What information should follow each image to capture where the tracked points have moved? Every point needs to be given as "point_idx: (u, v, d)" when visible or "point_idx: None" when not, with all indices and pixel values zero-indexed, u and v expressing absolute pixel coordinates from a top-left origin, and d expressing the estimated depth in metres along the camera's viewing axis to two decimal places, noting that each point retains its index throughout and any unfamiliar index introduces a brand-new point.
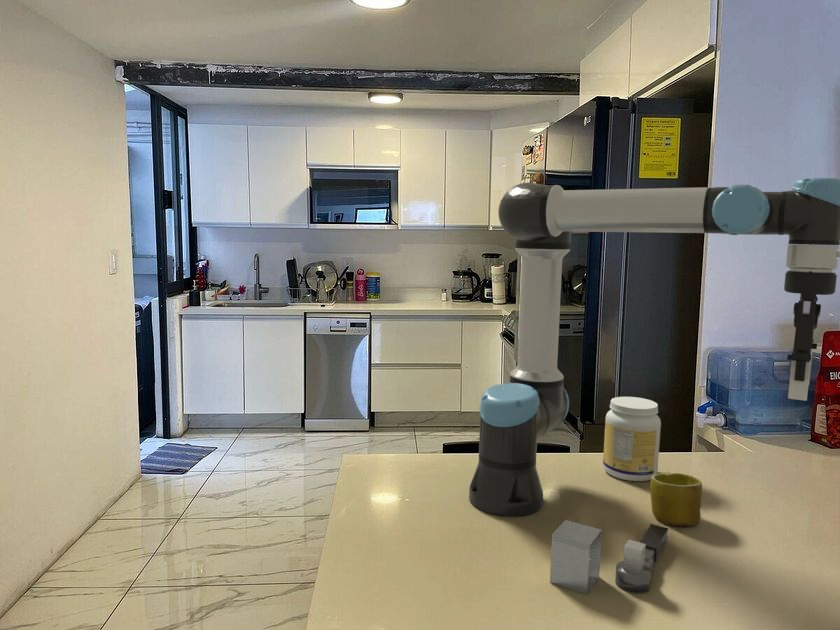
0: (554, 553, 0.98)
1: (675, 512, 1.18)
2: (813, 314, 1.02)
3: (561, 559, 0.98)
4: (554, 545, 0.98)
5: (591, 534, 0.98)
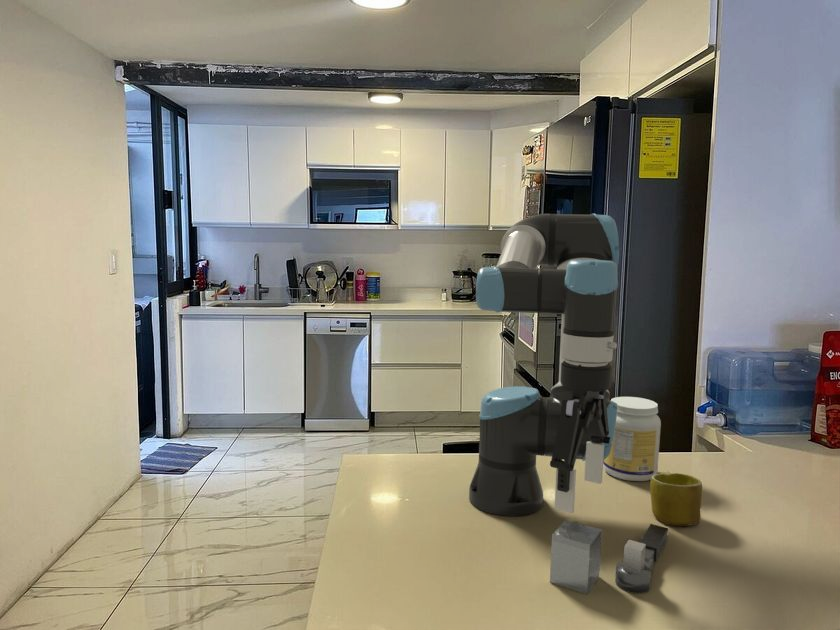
0: (554, 553, 0.98)
1: (675, 512, 1.18)
2: (575, 417, 0.90)
3: (561, 559, 0.98)
4: (554, 545, 0.98)
5: (591, 534, 0.98)
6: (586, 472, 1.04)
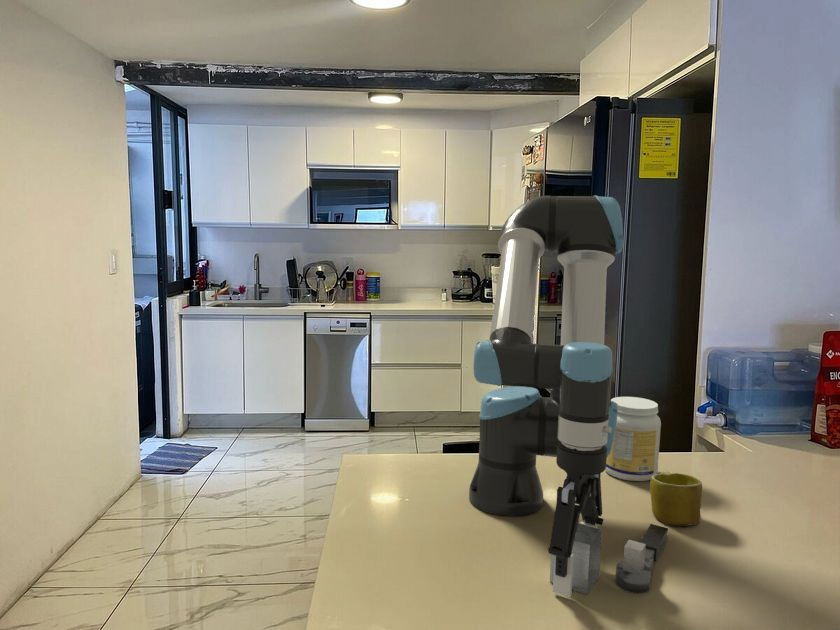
0: None
1: (675, 512, 1.18)
2: (571, 505, 0.92)
3: None
4: None
5: (591, 534, 0.98)
6: None
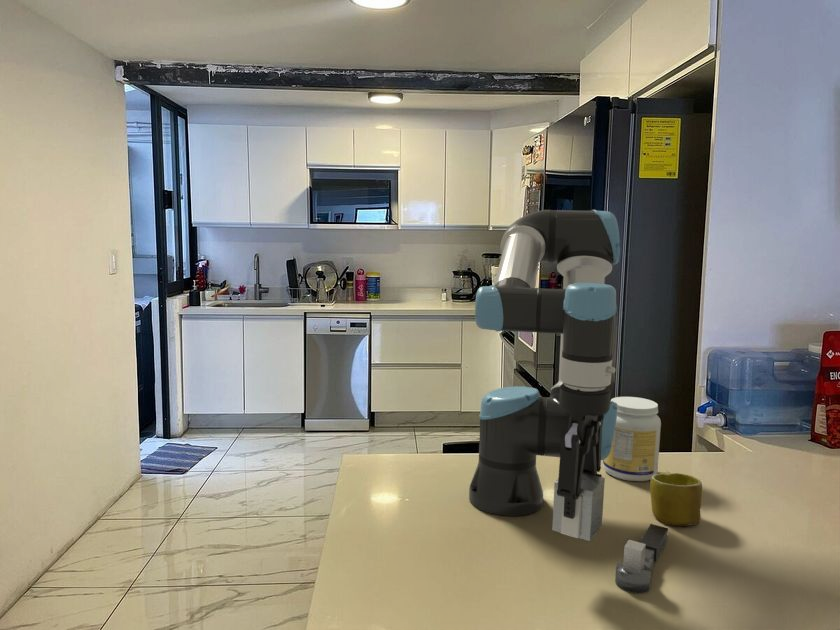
0: (556, 501, 0.98)
1: (675, 512, 1.18)
2: (575, 450, 0.91)
3: None
4: None
5: (593, 482, 0.97)
6: None
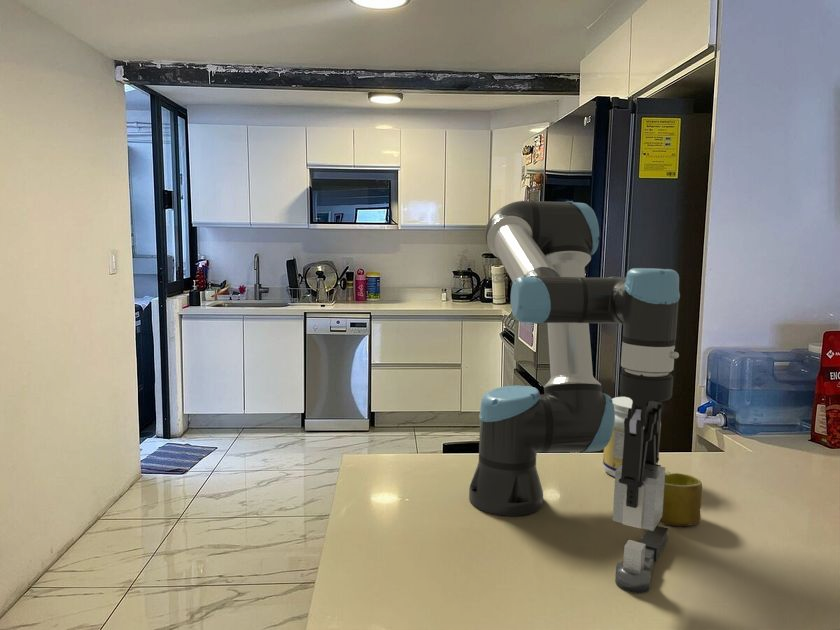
0: (617, 490, 0.96)
1: (675, 512, 1.18)
2: (640, 436, 0.90)
3: None
4: (618, 481, 0.95)
5: (655, 471, 0.96)
6: None
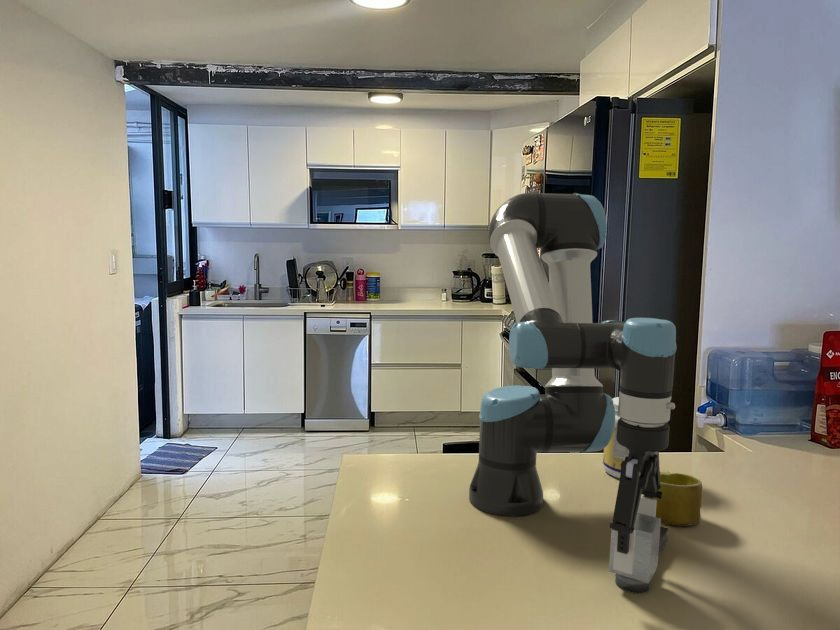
0: (613, 542, 0.97)
1: (675, 512, 1.18)
2: (636, 479, 0.90)
3: None
4: (614, 533, 0.97)
5: (651, 523, 0.97)
6: None
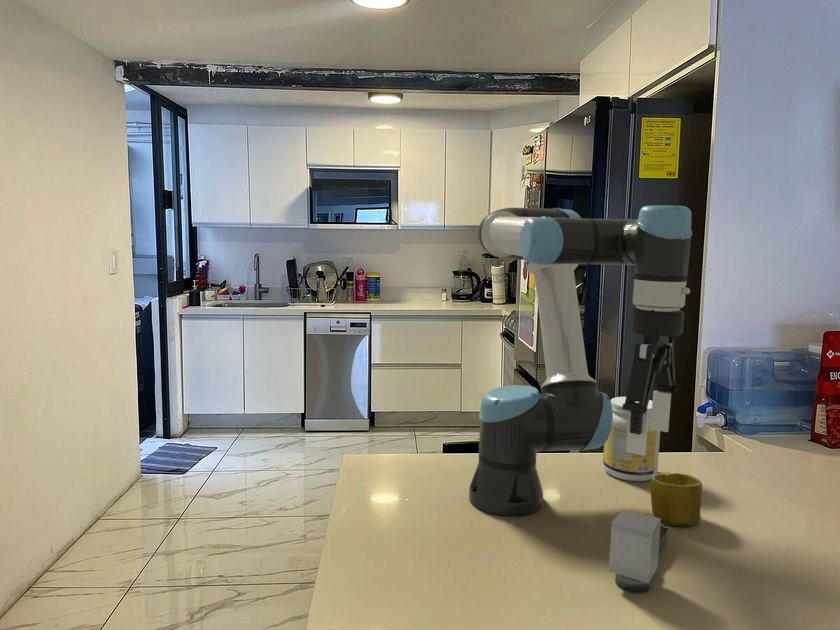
0: (613, 542, 0.97)
1: (675, 512, 1.18)
2: (649, 359, 0.91)
3: (621, 548, 0.96)
4: (614, 533, 0.97)
5: (651, 523, 0.97)
6: (652, 421, 1.05)
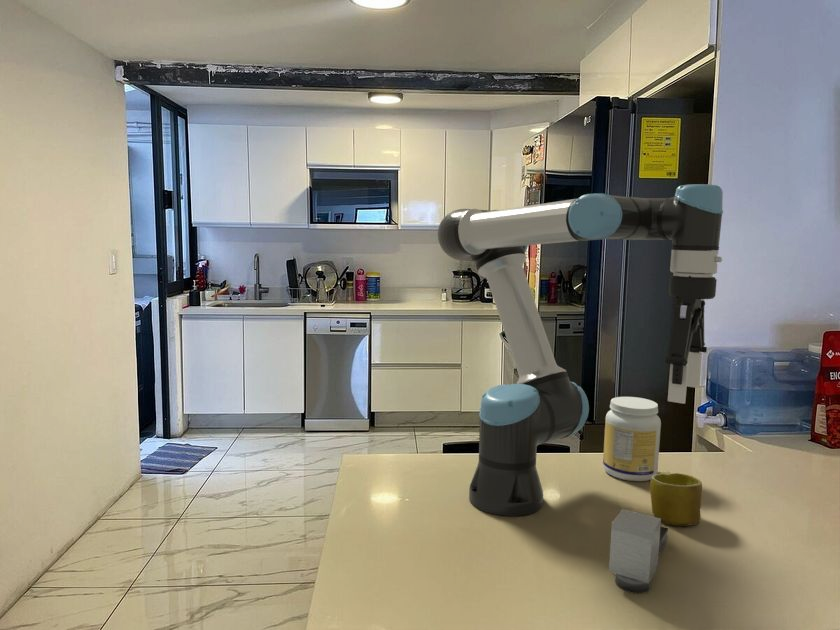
0: (613, 542, 0.97)
1: (675, 512, 1.18)
2: (689, 318, 1.04)
3: (621, 548, 0.96)
4: (614, 533, 0.97)
5: (651, 523, 0.97)
6: None
